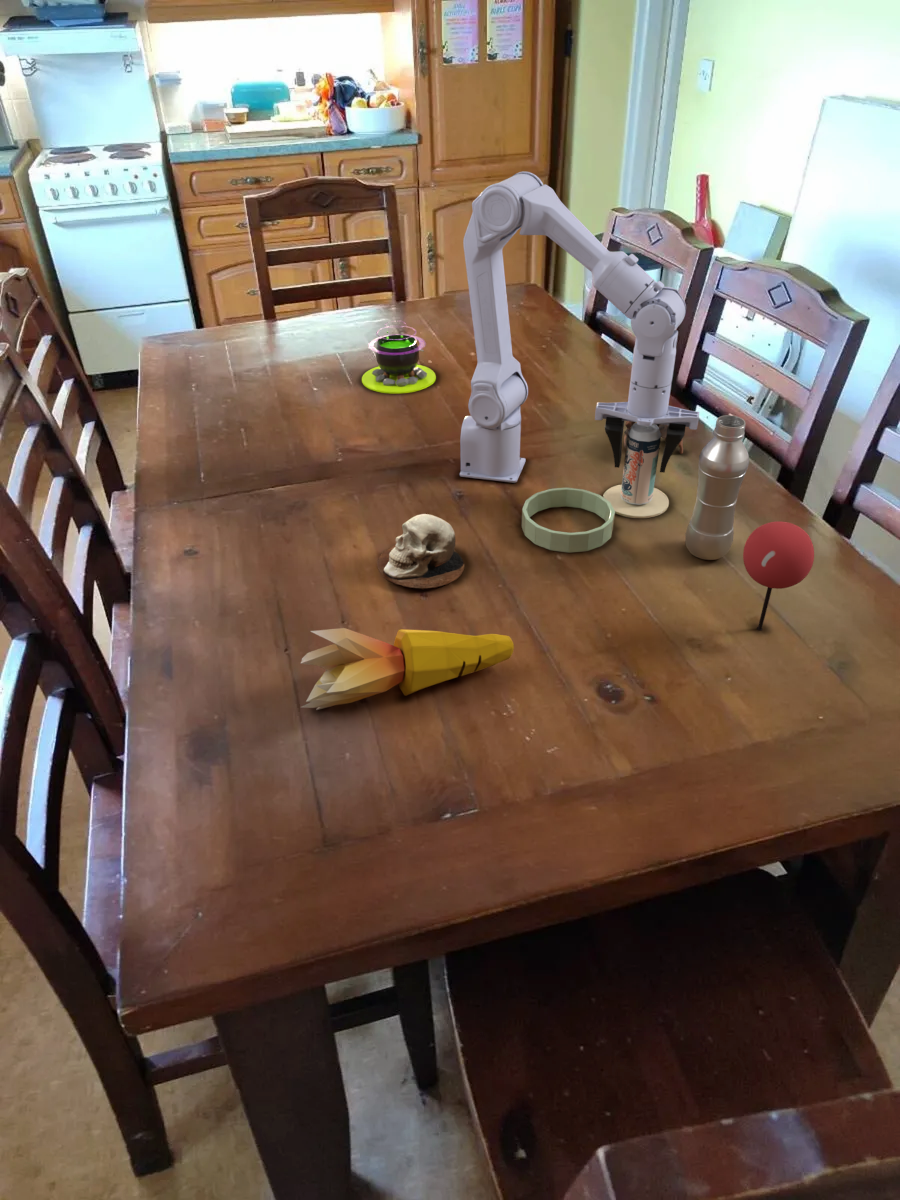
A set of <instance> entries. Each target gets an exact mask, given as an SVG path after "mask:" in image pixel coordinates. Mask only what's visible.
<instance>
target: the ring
mask: <svg viewBox="0 0 900 1200" xmlns="http://www.w3.org/2000/svg"><path fill="white" fill-rule="evenodd" d="M561 507H569V508H575V509H582V510H585V511H588V512H591V513H594V514H596V515H597V516H598V517H600V518H601V519H602V520H604V523H603V524H602V525H601V526H598V527H595V528H593V529H589V530H587V531H576V532H575V531H574V532H569V531H568V532H566V531H559V530H553V529H550V528H547V527H545V526H542V525H540V524H538V523H537V522H535V521H534V520H533V519H532V518H531V517H533V515H535V514H537V513H538V512H541V511H544V510H547V509H551V508H561ZM615 515H616V513H615V510H614V508H613V507H612V505H611V503H610V502H609V501H608V500H606V499H605V498H603V496H602V495H600V494H599V493H597V492H594V491H590V490H587V489H583V488H575V487H555V488H548V489H545V490H542V491H538V492H535V493H534V494H533V495H530V496H529V497H528V498H527V499H525V501H524V504H523V506H522V509H521V528H522V529H521V530H522V531H523V535H524V536H525V537H526V538H527V539H528V540H529V541H531V542H532V543H533V544H534V545H536V546H539V547H541V548H543V549H546V550H549V551H552V552H553V551H554V552H561V553H568V554H569V553H571V554H572V553H583V552H589V551H591V550H594V549H597V548H601V547H602V546H604V545H605V544H606V543H607V542H608V541H609V540H610V539H611V538H612V535H613V531H614V524H615Z"/></svg>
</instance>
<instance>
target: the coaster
mask: <svg viewBox="0 0 900 1200" xmlns="http://www.w3.org/2000/svg"><path fill="white" fill-rule="evenodd" d="M621 488H622V483H621V484H618V485H614V486H611V487H609V488H608V489H607V490H606V491H605V492H604V493H603V496H602V497H603V498H605V499H606V500H608V501H609V502H610V503H611V505H612V507H613V508H614V510H615V515H619V516H620V517H626V518H630V519H650V518H655V517H657V516H660V515H662V514H664V513H665V512H666V511H668V509H669V505H670V500H669V497H668V496H667V494H665V493H664V492H663V491H662V490H660V489H658V488H656V487H654V490H653V497H652V500H651V501H650V502H649V503H646V504H643V505H632V504H629V503H627V502H626V501H624V500H623V499H622V498H621Z"/></svg>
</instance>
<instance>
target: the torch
mask: <svg viewBox="0 0 900 1200" xmlns="http://www.w3.org/2000/svg"><path fill="white" fill-rule="evenodd" d="M310 632H311V633H313V634H315V635H317V636H319V637H320V638H323V639H325V640H327V641H329V642H331V643H333V644H330V645H327V646H324V647H321V648H318V649H315V650H312V651H309V652H307V653H306V654H305V655H304V656H303V657H302V658H301V659H300V660H301V661H300V664H301V665H310V666H318V667H319V668H322V669H323V670H325V671H324V672H323V674H322V675H321V676H320V677H319V678H318V680H317V682H316V683H315V684H314V686H313V688H312V690H311V691H310V693H309V695H308V697H307V699H306V701H305V702H306V704H304V705H302V706H301V708H306V709H309V708H310V709H315V708H316V711H318V710H322V709H327V708H330V707H333V706H334V707H335V706H339V705H345V704H352V703H354V702H357V701H360V700H364V699H366V698H369V697H372V696H375V695H379V694H382V693H385V692H387V691H389V690H390V689H392V688H394V687H395V686H397V685H398V686H399V690H400V691H401V692H402V694H403V696H406V697H407V696H409V695H411V694H414V693H416V692H418V691H421V690H423V689H426V688H428V687H431V686H434V685H438V684H441V683H443V682H447V681H449V680H453V679H456V678H458V677H459V676H460V677H464V676H466V675H469V674H472V673H475V672H478V671H481V670H484V669H487V668H490V667H492V666H493V667H494V666H495V665H498V664H500V663H503V662H506V661H508V660H509V659H511V657H512V655H513V654H514V650H515V645H514V641H513V640H512V638H511V636H509V635H505V634H504V635H503V634H497V633H486V634H478V635H470V634H464V633H454V632H447V631H440V630H427V629H426V630H425V629H424V630H423V629H398V630H397V633H396V635H395V637H394V638H395V639H394V642H393V644H390V643H388V642H385V641H383V640H381V639H377V638H374V637H371V636H368V635H366V634H363V633H360V632H357V631H354V630H351V629H349V628H346V627H340V628H330V629H321V630H320V629H318V630H310Z"/></svg>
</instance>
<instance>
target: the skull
mask: <svg viewBox="0 0 900 1200" xmlns="http://www.w3.org/2000/svg"><path fill="white" fill-rule="evenodd" d="M401 527H402V528H401V529H402V534H401V535H398V536H397V537H395V545H393V546H391V547H388V549H386V550H384V551H383V552H382V553H381V554H380V555H379V556H378V558H377V561H376V562H377V563H376V567H377V569H378V572H379V573H380V575H381V576H382V577H383V578H384V579H385V580H387V581H388V582H391V583H393V584H395V585H400V586H402V587H406V588H410V589H411V588H413V589H419V590H420V589H421V590H425V589H436V588H437V589H438V587H442V586H444V585H445V586H446V585H449V584H452V583H453V582H454V581H456V580H457V579H458V578H459V577H461V575H462V574H463V572H464V569H465V562H464V560H463V557H462V556H461V555H460V553H459V552H457V551H456V550H455V549H456V532H455V530H454V528H453V527H452V525H451V524H450V523H449V522H447V521H446V520H444V519H443V518H440V517H438V516H436V515H433V514H430V513H429V514H428V513H427V514H426V513H421V514H417V515H414V516H413V517H411V518H410V519H408V520H407V521H405V522H404V523H402V525H401Z"/></svg>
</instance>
